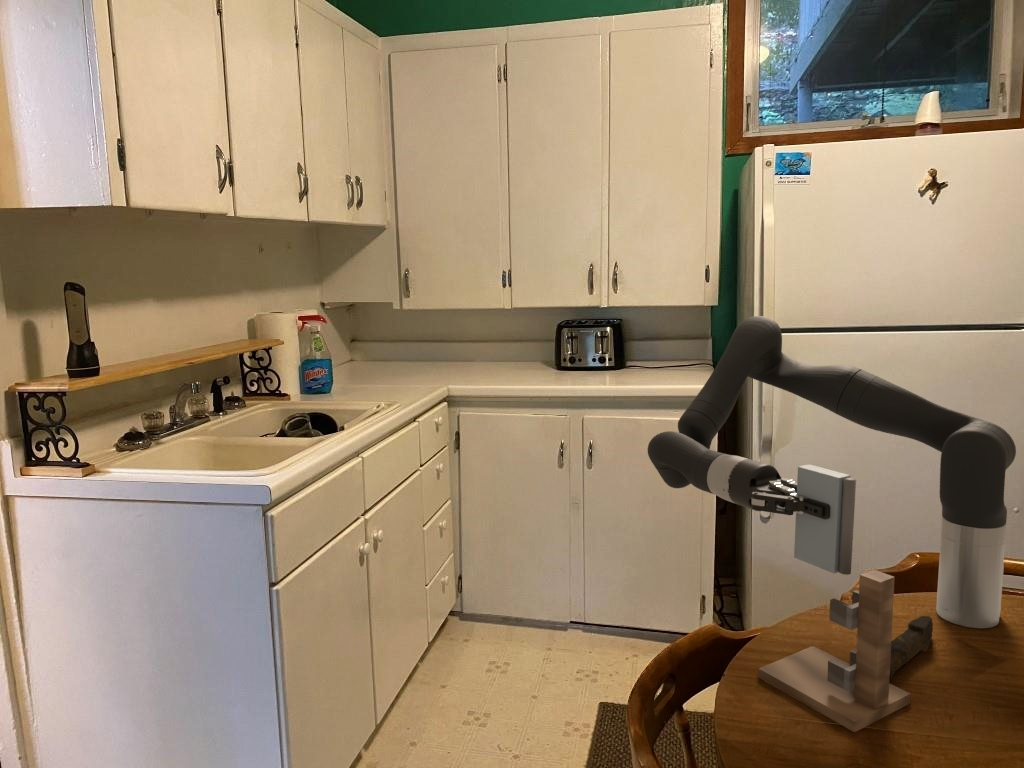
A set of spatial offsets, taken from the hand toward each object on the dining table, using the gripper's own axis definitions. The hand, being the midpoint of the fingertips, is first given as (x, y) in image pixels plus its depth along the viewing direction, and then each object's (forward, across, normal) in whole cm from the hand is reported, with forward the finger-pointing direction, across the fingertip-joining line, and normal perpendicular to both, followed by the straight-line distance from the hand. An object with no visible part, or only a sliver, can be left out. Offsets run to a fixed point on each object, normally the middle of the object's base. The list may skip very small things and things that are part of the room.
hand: (835, 510), depth 109 cm
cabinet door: (-2, 0, -9) cm, 9 cm away
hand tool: (+2, -14, -26) cm, 30 cm away
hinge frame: (+2, +2, -26) cm, 26 cm away
